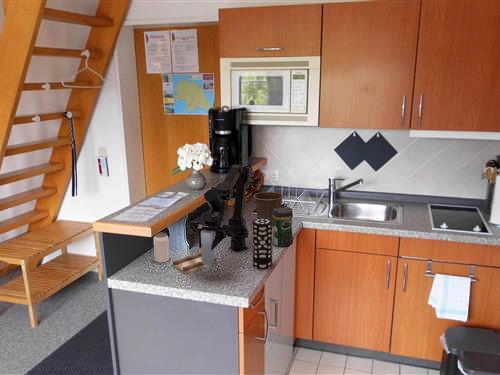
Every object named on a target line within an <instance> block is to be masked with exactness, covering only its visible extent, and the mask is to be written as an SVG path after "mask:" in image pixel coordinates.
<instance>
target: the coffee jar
mask: <svg viewBox="0 0 500 375" xmlns="http://www.w3.org/2000/svg"><path fill="white" fill-rule="evenodd" d="M293 214H294V213H293V209H292V207H290V206H284V207H282V206H281V208H274V209H273V215H272V216H273V219H274V226H273V230H272V245H274V247H277V248H279V247H280V248H281V247H283V248H284V247H288V246H292V245H293V243H294V237H293V229H292V228H293V225H292V222H293V217H294V215H293Z"/></svg>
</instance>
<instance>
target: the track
mask: <svg viewBox="0 0 500 375" xmlns="http://www.w3.org/2000/svg"><path fill="white" fill-rule="evenodd" d="M217 264H218V261H217V257H215V256H214V264H212V265H203V264H202V251H201V252H199V253H195V254H191V255H189V256H186V257H182V258H178V259H176V260H173V261H172V264H171V267H173V268H174V269H175V270H177V271H179V272H181V273H182V274H184V275H188V274H191V273H194V272H198V271H200V270H203V269H206V268H209V267H213V266H214V265H217Z"/></svg>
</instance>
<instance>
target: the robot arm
mask: <svg viewBox="0 0 500 375" xmlns="http://www.w3.org/2000/svg"><path fill="white" fill-rule="evenodd" d="M252 177H253V170H252V169H251V167H247V166H246V167H245V166H243V165H241V164H232V165H231V166H230V170H229V171H228V173H227V175H226V176H225V179H224V178H223V179H224V180H223V181H222V182H220V183H218V184H217V185H215V186H211V187H210V189H208V190H206V191H205V193H204V194H203V198H204V200H205V201H206V203H207V205H208V206H209V208H210V210H209V211H208V212H201V218H200V221H201V222H203V224H204V225H203V224H201V222H200V221H195V220H191V221H189V223H188V225H187V227H188V229H190V231H191V232H192V233H194V234H198V245H199V248H200V249H202V247H201V231H203V230H212V231H213V232H215V233H214V235H215V236H214V237H213V244H212V248H211V249H212V250H213V249H214V250H215V248H216V247H217V246H218V245H219V244H220V243H221V242H222V241H223V240H224V239H227V238H230V246H229V247H228V248H229V249H230V250H233V251H234V252H236V253H237V252H242V251H244V250H247V249H248V246H246V244H247V243H246V239H247V238H249V230H248V227H247V224H246V220H245V218H244V210H245V202H246V195H247V194H246V193H247V186H248V185H249V184H250V183H251V180H252ZM235 185H236V187H235ZM234 187H235V188H236V189H235V196H234V204H233V205H234V206H233V214H232V216H231V217H230V218H229V219H228V221H227V223H228V224H222V222H224V214H225V212H226V210H228V206H227V203H226V202H225V201H230V200H231V199H233V195H234V191H233V188H234ZM221 225H222V227H221Z"/></svg>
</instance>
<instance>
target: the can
mask: <svg viewBox="0 0 500 375" xmlns="http://www.w3.org/2000/svg"><path fill="white" fill-rule="evenodd" d="M155 234H156V235H155ZM155 234H154V235H155V236H154V235H153V236H154V237H153V252H154V261H155V262H156V263H159V264H164V263H167V262H169V260H170V243H169V240H170V239H169V236H168V234H167V232H158V234H157V233H155Z"/></svg>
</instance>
